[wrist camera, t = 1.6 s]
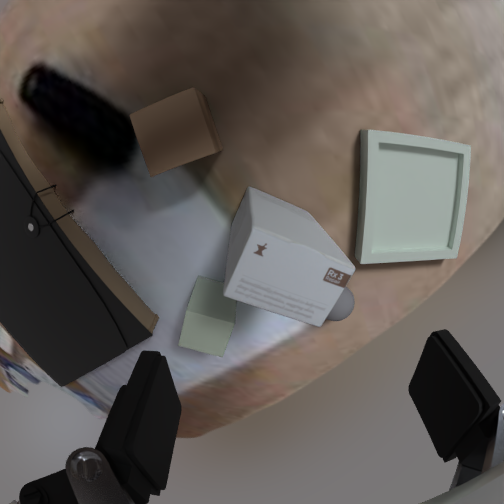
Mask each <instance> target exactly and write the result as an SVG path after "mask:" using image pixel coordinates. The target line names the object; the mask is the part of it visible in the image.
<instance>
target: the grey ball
mask: <svg viewBox="0 0 504 504" xmlns="http://www.w3.org/2000/svg"><path fill="white" fill-rule="evenodd" d="M353 308H354V296H353V294H352V292H351V291H350V290H349V289H348V288H347V287H346V286H345V288H344V290H343V291H342V293H341V295H340V297H339V298H338V300H337V301H336V303H335V305H334V306H333V308H332V310H331V311H330V313H329V314H328V316H327V317H326V319H328V320H331V321H340V320H343V319H345V318H347V317H348V316H349V315H350V314H351V312H352V310H353Z"/></svg>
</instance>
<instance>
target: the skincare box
mask: <svg viewBox="0 0 504 504" xmlns="http://www.w3.org/2000/svg"><path fill="white" fill-rule="evenodd" d="M354 272H355V266H354V265H353V264H352V263H351V261H350V260H349V259H348V258H347V256H346V255H345V254H344V253H343V252H342V250H341V249H340V248H339V247H338V246H337V244H336V243H335V242H334V241H333V240H332V239H331V237H330V236H329V235H328V234H327V233H326V232H325V230H324V229H323V228H322V227H321V226H320V225H319V224H318V222H317V221H316V220H315V219H314V218H313V217H312V216H311V214H310V213H309V212H308V211H306V210H303V209H301V208H299V207H297V206H294V205H292V204H290V203H288V202H285V201H283V200H281V199H279V198H276V197H274V196H272V195H269V194H267V193H265V192H262V191H260V190H257V189H255V188H253V187H248V188H247V190H246V192H245V195H244V197H243V199H242V201H241V204H240V206H239V208H238V211H237V213H236V215H235V218H234V220H233V223H232V225H231V234H230V241H229V248H228V256H227V263H226V271H225V280H224V286H223V295H224V296H225V297H228V298H231V299H234V300H237V301H240V302H243V303H246V304H249V305H252V306H255V307H258V308H261V309H264V310H267V311H270V312H273V313H277V314H280V315H283V316H286V317H289V318H292V319H295V320H299V321H302V322H305V323H308V324H312V325H315V326H318V327H321V325H322V324H323V322H324V321H325V319H326V317H327V316H328V314H329V313H330V311H331V310H332V308H333V306H334V305H335V303H336V301H337V300H338V298H339V297H340V295H341V293H342V291H343V290H344V288H345V286H346V285H347V283H348V281H349V280H350V278H351V276H352V275H353V273H354Z"/></svg>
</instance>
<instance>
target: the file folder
mask: <svg viewBox="0 0 504 504" xmlns="http://www.w3.org/2000/svg"><path fill="white" fill-rule="evenodd" d="M3 101H4V100H3V99H0V322H1V323H2V324H3V326H4V327H5V328H6V329H7V331H8V332H9V333H10V334H11V335H12V337H13V338H14V339H15V340H16V341H17V342H18V344H19V345H20V346H21V347H22V348H23V349H24V350H25V351H26V352H27V354H28V355H29V356H30V357H31V358H32V359H33V360H34V361H35V362H36V363H37V364H38V365H39V366H40V367H41V368H42V369H43V370H44V371H45V372H46V373H47V374H48V375H49V376H50V377H51V378H52V379H53V380H54V381H55V382H56V383H58V384H59V385H60V386H61V387H63V386H65V385H67V384H68V383H70V382H72V381H74V380H76V379H78V378H79V377H81V376H83V375H85V374H87V373H88V372H90V371H92V370H94V369H96V368H97V367H99V366H101V365H103V364H104V363H106V362H108V361H110V360H112V359H113V358H115V357H117V356H119V355H120V354H122V353H124V352H125V351H126V350H128V349H129V348H131V347H133V346H135V345H136V344H138V343H140V342H142V341H143V340H145V339H147V338H149V337H150V336H152V335H153V334H152V332H153V330H154V328H155V325H156V323H157V321H158V318H159V317H158V315H157V314H156V315H155V314H154V313H153V312H152V311H151V310H150V309H149V308H148V306H147V305H146V304H145V303H144V302H143V301H142V300H141V299H140V297H139V296H138V295H137V294H136V293H135V292H134V290H133V289H132V288H131V287H130V286H129V285H128V284H127V282H126V281H125V280H124V279H123V278H122V277H121V276H120V275H119V274H118V272H117V271H116V270H115V269H114V268H113V267H112V265H111V264H110V263H109V261H108V260H107V259H106V258H105V256H104V255H103V254H102V252H101V251H100V250H99V248H98V247H97V246H96V244H95V243H94V242H93V241H92V240H91V239H90V237H89V236H88V235H87V234H86V233H85V232H84V231H83V230H82V229H81V228H80V227H79V226H78V225H77V224H76V222H75V221H74V220H73V219H72V218H71V217H70V215H69V214H70V213H72V212H73V211H74V210H72V211H70V212H68V213H67V211H66V210H65V209H64V207H63V205H62V204H61V202H60V201H59V199H58V198H57V196H56V194H55V193H54V191H53V189H52V187H55V186H56V185H53V186H50V185H49V183H48V182H47V180H46V179H45V177H44V176H43V175H42V174H41V172H40V171H39V170H38V168H37V167H36V166H35V164H34V163H33V162H32V160H31V159H30V157H29V156H28V154H27V152H26V150H25V149H24V147H23V145H22V143H21V142H20V140H19V138H18V136H17V134H16V132H15V129H14V127H13V124H12V121H11V118H10V116H9V114H8V112H7V110H6V108H5V107H4V105H3V103H2V102H3Z"/></svg>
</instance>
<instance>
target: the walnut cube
mask: <svg viewBox="0 0 504 504" xmlns="http://www.w3.org/2000/svg"><path fill="white" fill-rule="evenodd" d="M130 118H131V122H132V125H133V128H134V131H135V134H136V137H137V140H138V143H139V145H140V148H141V151H142V154H143V157H144V160H145V163H146V165H147V168H148V171H149V174H150V176H151V177H153V176H155V175H158V174H160V173H163V172H165V171H168V170H170V169H173V168H175V167H178V166H181V165H183V164H186V163H189V162H191V161H194V160H197V159H200V158H202V157H205V156H208V155H211V154H214V153H217V152H219V151H221V150H223V147H222V144H221V141H220V139H219V136H218V133H217V130H216V127H215V124H214V121H213V118H212V115H211V112H210V109H209V106H208V103H207V100H206V97H205V96H204V95H203V94H202V93H201V92H199V91H198V90H197V89H196V88H194V87H192V88H190V89H187V90H184V91H182V92H179V93H177V94H174V95H172V96H169V97H167V98H165V99H162V100H160V101H158V102H156V103H153V104H151V105H149V106H147V107H144V108H142V109H140V110H138V111H136V112H134V113H132V114H130Z"/></svg>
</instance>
